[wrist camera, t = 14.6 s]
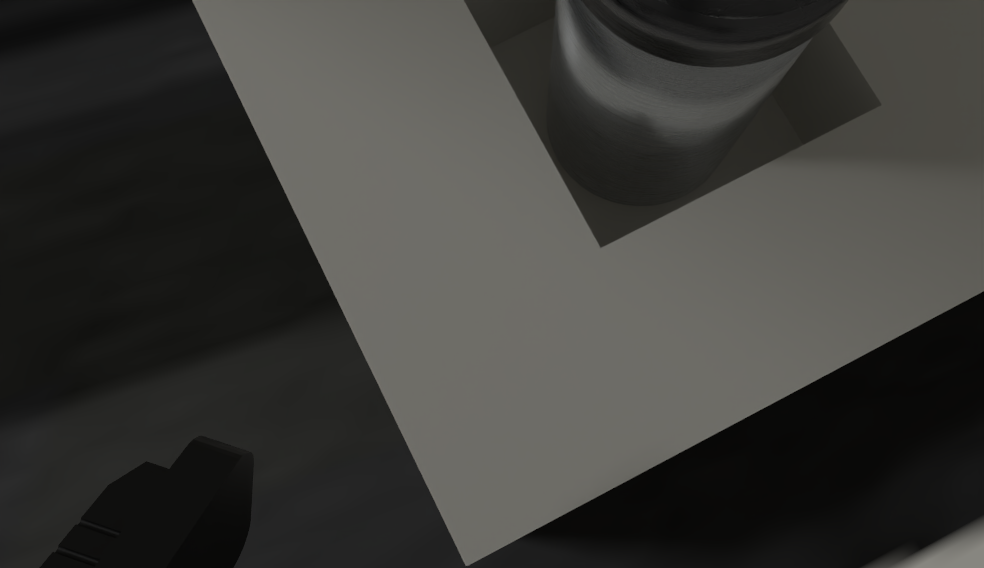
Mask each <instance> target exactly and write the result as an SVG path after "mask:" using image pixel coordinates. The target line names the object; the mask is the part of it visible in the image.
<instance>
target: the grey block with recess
mask: <svg viewBox="0 0 984 568" xmlns="http://www.w3.org/2000/svg"><path fill="white" fill-rule="evenodd" d="M192 1H193V3H194V5H195V7H196V9H197V11H198V13H199V15H200V17H201V19H202V21H203V23H204V26H205V28H206V30H207V32H208V34H209V36H210V38H211V40H212V42H213V44H214V46H215V48H216V50H217V52H218V54H219V57H220V59H221V61H222V63H223V65H224V67H225V69H226V71H227V73H228V75H229V77H230V79H231V81H232V83H233V85H234V88H235V90H236V92H237V94H238V96H239V98H240V100H241V102H242V104H243V106H244V108H245V110H246V112H247V114H248V116H249V119H250V121H251V123H252V125H253V127H254V129H255V131H256V133H257V135H258V137H259V139H260V141H261V143H262V145H263V147H264V150H265V152H266V154H267V156H268V158H269V160H270V162H271V164H272V166H273V168H274V170H275V172H276V174H277V176H278V178H279V181H280V183H281V185H282V187H283V189H284V191H285V193H286V195H287V197H288V199H289V201H290V203H291V205H292V207H293V209H294V212H295V214H296V216H297V218H298V220H299V222H300V224H301V226H302V228H303V230H304V232H305V234H306V236H307V238H308V240H309V243H310V245H311V247H312V249H313V251H314V253H315V255H316V257H317V259H318V261H319V263H320V265H321V267H322V269H323V271H324V274H325V276H326V278H327V280H328V282H329V284H330V286H331V288H332V290H333V292H334V294H335V296H336V298H337V300H338V302H339V305H340V307H341V309H342V311H343V313H344V315H345V317H346V319H347V321H348V323H349V325H350V327H351V329H352V331H353V333H354V336H355V338H356V340H357V342H358V344H359V346H360V348H361V350H362V352H363V354H364V356H365V358H366V360H367V362H368V364H369V367H370V369H371V371H372V373H373V375H374V377H375V379H376V381H377V383H378V385H379V387H380V389H381V391H382V393H383V395H384V398H385V400H386V402H387V404H388V406H389V408H390V410H391V412H392V414H393V416H394V418H395V420H396V422H397V424H398V426H399V429H400V431H401V433H402V435H403V437H404V439H405V441H406V443H407V445H408V447H409V449H410V451H411V453H412V455H413V458H414V460H415V462H416V464H417V466H418V468H419V470H420V472H421V474H422V476H423V478H424V480H425V482H426V484H427V486H428V489H429V491H430V493H431V495H432V497H433V499H434V501H435V503H436V505H437V507H438V509H439V511H440V513H441V515H442V517H443V520H444V522H445V524H446V526H447V528H448V530H449V532H450V534H451V536H452V538H453V540H454V542H455V544H456V546H457V548H458V551H459V553H460V555H461V557H462V559H463V561H464V563H465V565H466V566H468V565H470V564H472V563H474V562H475V561H477V560H479V559H481V558H483V557H485V556H487V555H489V554H491V553H492V552H494V551H496V550H498V549H500V548H502V547H504V546H506V545H507V544H509V543H511V542H513V541H515V540H517V539H519V538H521V537H522V536H524V535H526V534H528V533H530V532H532V531H534V530H536V529H538V528H539V527H541V526H543V525H545V524H547V523H549V522H551V521H553V520H554V519H556V518H558V517H560V516H562V515H564V514H566V513H568V512H569V511H571V510H573V509H575V508H577V507H579V506H581V505H583V504H585V503H586V502H588V501H590V500H592V499H594V498H596V497H598V496H600V495H601V494H603V493H605V492H607V491H609V490H611V489H613V488H615V487H616V486H618V485H620V484H622V483H624V482H626V481H628V480H630V479H631V478H633V477H635V476H637V475H639V474H641V473H643V472H645V471H647V470H648V469H650V468H652V467H654V466H656V465H658V464H660V463H662V462H663V461H665V460H667V459H669V458H671V457H673V456H675V455H677V454H678V453H680V452H682V451H684V450H686V449H688V448H690V447H692V446H694V445H695V444H697V443H699V442H701V441H703V440H705V439H707V438H709V437H710V436H712V435H714V434H716V433H718V432H720V431H722V430H724V429H725V428H727V427H729V426H731V425H733V424H735V423H737V422H739V421H741V420H742V419H744V418H746V417H748V416H750V415H752V414H754V413H756V412H757V411H759V410H761V409H763V408H765V407H767V406H769V405H771V404H772V403H774V402H776V401H778V400H780V399H782V398H784V397H786V396H788V395H789V394H791V393H793V392H795V391H797V390H799V389H801V388H803V387H804V386H806V385H808V384H810V383H812V382H814V381H816V380H818V379H819V378H821V377H823V376H825V375H827V374H829V373H831V372H833V371H835V370H836V369H838V368H840V367H842V366H844V365H846V364H848V363H850V362H851V361H853V360H855V359H857V358H859V357H861V356H863V355H865V354H866V353H868V352H870V351H872V350H874V349H876V348H878V347H880V346H882V345H883V344H885V343H887V342H889V341H891V340H893V339H895V338H897V337H898V336H900V335H902V334H904V333H906V332H908V331H910V330H912V329H913V328H915V327H917V326H919V325H921V324H923V323H925V322H927V321H929V320H930V319H932V318H934V317H936V316H938V315H940V314H942V313H944V312H945V311H947V310H949V309H951V308H953V307H955V306H957V305H959V304H960V303H962V302H964V301H966V300H968V299H970V298H972V297H974V296H976V295H977V294H979V293H981V292H983V291H984V0H848V1H847V3H846V4H845V5H844V7H843V8H842V9H841V11H840V12H839V13H838V14H837V15H836V16H835V17H834V18H833V20H832V21H831V22H830V23H829V24H828V25H827V26H826V27H825V28H823V29H822V30H821V31H820V32H818V33H817V34H816V35H815V36H814V37H813V38H812V40H811V41H810V42H809V44H808V45H807V46H806V48H805V49H804V50H803V52H802V53H801V54H800V56H799V57H798V59H797V60H796V61H795V63H794V64H793V65H792V67H791V68H790V69H789V71H788V72H787V73H786V75H785V76H784V78H783V79H782V80H781V82H780V83H779V84H778V86H777V87H776V88H775V90H774V91H773V92H772V94H771V95H770V97H769V98H768V99H767V101H766V102H765V103H764V105H763V106H762V107H761V109H760V110H759V111H758V113H757V114H756V116H755V117H754V118H753V120H752V121H751V122H750V124H749V125H748V126H747V128H746V129H745V130H744V132H743V133H742V135H741V136H740V137H739V139H738V140H737V141H736V143H735V144H734V145H733V147H732V148H731V149H730V151H729V152H728V153H727V155H726V156H725V158H724V159H723V160H722V162H721V163H720V164H719V166H718V167H717V168H716V170H715V171H714V172H713V174H712V175H711V176H710V177H709V178H708V179H707V180H706V181H705V182H704V183H703V184H702V185H700V186H699V187H698V188H697V189H695V190H694V191H692V192H690V193H689V194H687V195H685V196H683V197H681V198H679V199H676V200H674V201H671V202H667V203H664V204H659V205H653V206H630V205H623V204H618V203H614V202H611V201H608V200H605V199H602V198H600V197H598V196H596V195H594V194H592V193H590V192H589V191H588V190H586V189H585V188H583V187H582V186H580V185H579V184H578V183H577V182H576V181H575V180H574V179H572V178H571V176H570V175H569V174H568V173H567V172H566V171H565V170H564V168H563V167H562V165H561V164H560V162H559V161H558V159H557V157H556V155H555V153H554V151H553V149H552V146H551V143H550V140H549V136H548V131H547V122H546V111H547V99H548V87H549V76H550V64H551V52H552V40H553V28H554V16H555V4H556V0H192Z"/></svg>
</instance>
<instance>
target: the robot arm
mask: <svg viewBox="0 0 984 568" xmlns="http://www.w3.org/2000/svg"><path fill="white" fill-rule="evenodd" d="M253 466H254V458H253V454H252V453H251V452H249V451H246V450H243V449H240V448H237V447H234V446H231V445H228V444H225V443H222V442H219V441H216V440H213V439H210V438H207V437H204V436H198V437H196V438H195V439H193V440H192V441H191V442H190V443H189V444H188V446H187V447H186V448H185V449H184V451H183V452H182V453H181V455H180V456H179V457H178V459H177V460H176V461H175V462H174V464H173V465H172V466H171V468H170V469H167V468H164V467H161V466H158V465H156V464H153V463H150V462H145V463H143V464H142V465H140V466H138V467H137V468H135V469H134V470H132V471H130V472H129V473H127V474H126V475H124V476H122V477H121V478H119V479H118V480H116V481H114V482H113V483H111V484H109V485H108V486H107V488H106V489H105V490H104V491H103V492H102V494H101V495H100V496H99V497H98V498H97V500H96V501H95V502H94V503H93V504H92V506H91V507H90V508H89V509H88V510H87V512H86V513H85V514H84V515H83V516H82V518H81V521H80V523H79V524H78V525H75V526H74V527H73V528H72V530H71V531H70V532H69V533H68V534H67V536H66V537H65V538H64V539H63V540H62V542H61V543H60V544H59V547H58V549H57V551H56V552H55V553H54V552H52V554H51V555H50V556H49V557H48V558H47V560H46V561H45V562H44V563H43V564H42V566H41V567H40V568H233V567H234V566H235V564H236V562H237V560H238V558H239V556H240V554H241V551H242V549H243V547H244V544H245V541H246V538H247V535H248V531H249V527H250V521H251V504H252V485H253Z"/></svg>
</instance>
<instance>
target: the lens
mask: <svg viewBox="0 0 984 568" xmlns="http://www.w3.org/2000/svg"><path fill="white" fill-rule="evenodd" d="M847 1H848V0H556V4H555V16H554V28H553V40H552V52H551V64H550V76H549V87H548V99H547V111H546V122H547V131H548V136H549V140H550V143H551V146H552V149H553V151H554V153H555V155H556V157H557V159H558V161H559V162H560V164H561V165H562V167H563V168H564V170H565V171H566V172H567V173H568V174H569V175H570V176H571V178H572V179H574V180H575V181H576V182H577V183H578V184H579V185H580V186H582V187H583V188H585V189H586V190H588V191H589V192H590V193H592V194H594V195H596V196H598V197H600V198H602V199H605V200H608V201H611V202H614V203H618V204H623V205H630V206H653V205H659V204H664V203H667V202H671V201H674V200H676V199H679V198H681V197H683V196H685V195H687V194H689V193H690V192H692V191H694V190H695V189H697V188H698V187H699V186H700V185H702V184H703V183H704V182H705V181H706V180H707V179H708V178H709V177H710V176H711V175H712V174H713V172H714V171H715V170H716V168H717V167H718V166H719V164H720V163H721V162H722V160H723V159H724V158H725V156H726V155H727V153H728V152H729V151H730V149H731V148H732V147H733V145H734V144H735V143H736V141H737V140H738V139H739V137H740V136H741V135H742V133H743V132H744V130H745V129H746V128H747V126H748V125H749V124H750V122H751V121H752V120H753V118H754V117H755V116H756V114H757V113H758V111H759V110H760V109H761V107H762V106H763V105H764V103H765V102H766V101H767V99H768V98H769V97H770V95H771V94H772V92H773V91H774V90H775V88H776V87H777V86H778V84H779V83H780V82H781V80H782V79H783V78H784V76H785V75H786V73H787V72H788V71H789V69H790V68H791V67H792V65H793V64H794V63H795V61H796V60H797V59H798V57H799V56H800V54H801V53H802V52H803V50H804V49H805V48H806V46H807V45H808V44H809V42H810V41H811V40H812V38H813V37H814V36H815V35H816V34H817V33H818V32H820V31H821V30H822V29H823V28H825V27H826V26H827V25H828V24H829V23H830V22H831V21H832V20H833V18H834V17H835V16H836V15H837V14H838V13H839V12H840V11H841V9H842V8H843V7H844V5H845V4H846V3H847Z"/></svg>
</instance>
